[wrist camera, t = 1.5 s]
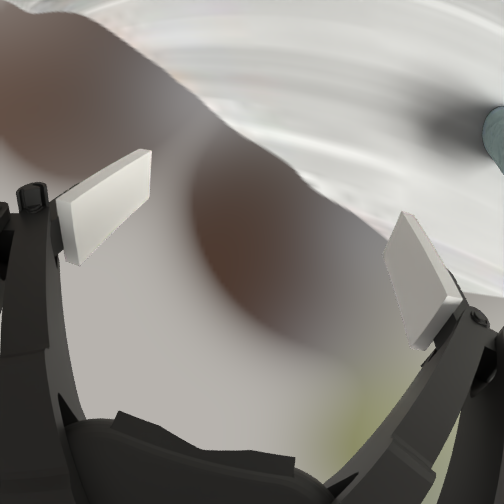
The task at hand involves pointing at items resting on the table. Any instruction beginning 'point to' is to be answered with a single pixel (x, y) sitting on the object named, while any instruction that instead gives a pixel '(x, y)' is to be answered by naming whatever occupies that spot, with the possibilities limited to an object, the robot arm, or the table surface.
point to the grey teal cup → (495, 136)
